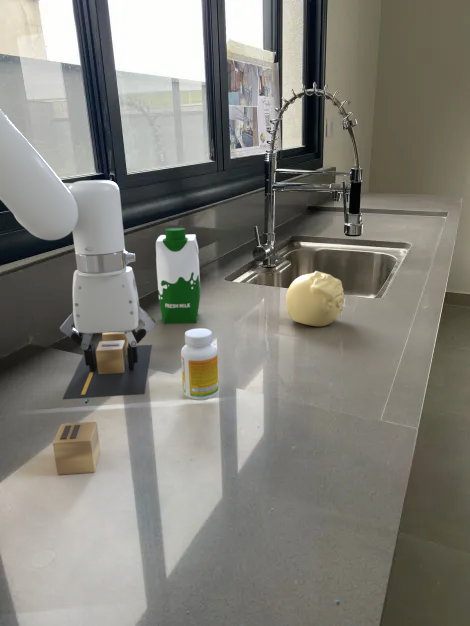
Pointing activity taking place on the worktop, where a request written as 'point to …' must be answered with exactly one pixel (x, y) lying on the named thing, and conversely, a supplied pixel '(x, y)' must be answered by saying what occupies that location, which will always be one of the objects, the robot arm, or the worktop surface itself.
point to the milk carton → (178, 276)
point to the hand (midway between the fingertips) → (112, 366)
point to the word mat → (110, 379)
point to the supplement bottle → (199, 365)
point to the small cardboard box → (115, 337)
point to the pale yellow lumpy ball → (315, 299)
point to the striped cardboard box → (76, 448)
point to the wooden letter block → (111, 357)
